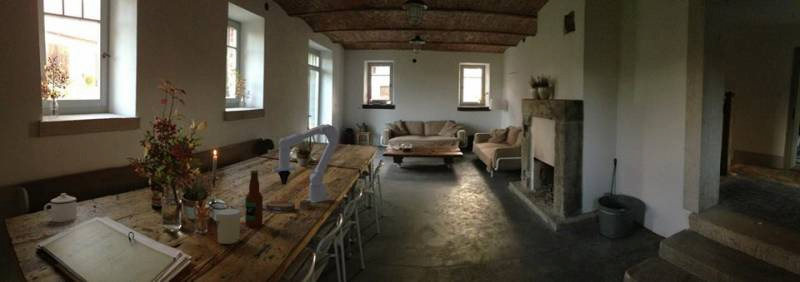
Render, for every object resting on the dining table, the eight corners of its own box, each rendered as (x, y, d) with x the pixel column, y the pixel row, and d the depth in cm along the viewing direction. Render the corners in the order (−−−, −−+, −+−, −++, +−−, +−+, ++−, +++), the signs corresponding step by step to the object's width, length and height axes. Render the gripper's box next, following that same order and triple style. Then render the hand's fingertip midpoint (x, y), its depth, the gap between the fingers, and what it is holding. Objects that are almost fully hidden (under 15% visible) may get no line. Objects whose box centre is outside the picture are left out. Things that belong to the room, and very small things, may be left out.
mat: (271, 204, 227) (271, 203, 227) (291, 211, 216) (291, 210, 216) (257, 206, 221) (257, 206, 221) (277, 214, 210) (277, 213, 210)
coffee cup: (220, 236, 174) (220, 208, 173) (243, 236, 175) (243, 208, 174) (212, 244, 165) (212, 214, 164) (236, 244, 166) (237, 215, 165)
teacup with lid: (81, 216, 192) (80, 191, 191) (70, 222, 183) (69, 196, 182) (50, 216, 189) (49, 191, 188) (38, 222, 181) (37, 196, 179)
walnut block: (304, 207, 226) (304, 199, 225) (310, 208, 224) (310, 200, 223) (299, 208, 222) (300, 201, 221) (306, 209, 220) (306, 202, 220)
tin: (297, 203, 221) (291, 205, 213) (297, 208, 221) (291, 212, 213) (269, 200, 223) (263, 203, 214) (269, 206, 223) (262, 209, 214)
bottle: (245, 223, 193) (245, 169, 190) (261, 222, 196) (262, 169, 193) (245, 228, 186) (245, 172, 184) (262, 227, 189) (263, 172, 186)
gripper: (291, 158, 239) (290, 181, 241) (268, 160, 228) (268, 184, 229) (298, 159, 235) (298, 183, 236) (276, 161, 224) (275, 187, 225)
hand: (283, 184), depth 232 cm, fingers closed
